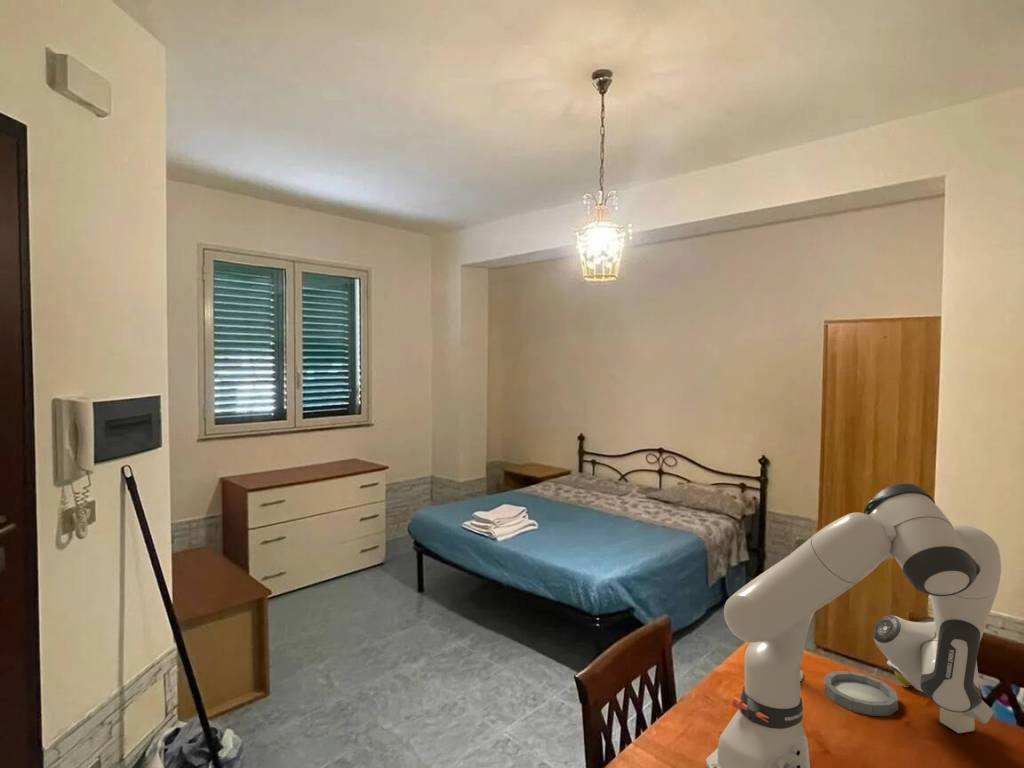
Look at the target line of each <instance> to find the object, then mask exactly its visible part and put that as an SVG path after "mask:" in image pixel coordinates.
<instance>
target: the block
mask: <svg viewBox="0 0 1024 768" xmlns="http://www.w3.org/2000/svg"><path fill="white" fill-rule="evenodd" d="M975 720H976V719H974V718H973V719H972V718H970V717H968V716H967V715H965V714H964V713H963V712H952V711H948V710H945V709H943V708H941V707H939V722H940V723H941V724H943V725H944V726H946V727H948V728H949V729H951V730H952V731H953V732H956V733H957V734H963V733H969V732H974V731H975V722H976V721H975Z"/></svg>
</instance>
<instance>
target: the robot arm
mask: <svg viewBox="0 0 1024 768" xmlns="http://www.w3.org/2000/svg"><path fill="white" fill-rule="evenodd" d="M889 559H895V561H896V562H897V563H898V565H899V567H900V568H901V569H902V573H903V575H904V577H905V578H906V579H907V580H908V582H909V583H910V584H911V585H912V586H913V588H915V589H916V590H917V591H919V592H920V593H922V594H926V595H928V596H929V599H930V600H929V601H930V605H931V609H932V610H931V611H932V615H933V618H928V619H924V620H921V621H911V620H907V619H904V618H901V617H900V616H896V615H885V616H883V617H881V618H880V619H879V620H878V621H877V622H876V623H875V625H874V627H873V630H872V631H873V632H872V635H873V640H874V642H875V645H876V647H877V648H878V649H879V651H880V652H881V653H882V655H884V656H885V658H886V659H887V662H886V665H887V666H888V667H889V668H890V669H891V670H893V672H894V671H896V672H897V673H899V674H900V675H902V676H903V677H904V678H905V679H906V680H907V681H908V682H910V683H911V684H912V685H911V686H912V687H914V689H916V690H917V691H919V692H922V693H924V695H925V696H927V698H928V699H929V700H930V701H931V702H933V703H934V704H935V705H937V706H938V707H939V708H940V707H941V708H943V709H945V710H948V711H952V712H963V713H964V714H965V715H967V716H968V717H970V718H972V719H973V718H974V719H975V720H976V721H978V723H979V722H980V723H981V724H988V722H989V721H990V720H991V718H992V716H993V714H994V711H993V709H992V708H991V707H990V706H989V705H988V704H987V702H985V701H984V700H983V699H982V694H981V689H980V683H979V672H978V660H977V659H978V653H979V648H980V644H981V640H982V637H983V634H984V631H985V628H986V625H987V622H988V620H989V616H990V613H991V610H992V609H993V605H994V602H995V599H996V596H997V593H998V590H999V585H1000V580H1001V572H1002V562H1001V554H1000V549H999V546H998V544H997V543H996V541H995V540H994V538H993V537H992V536H990V535H989V534H988V533H986V532H985V531H983V530H981V529H979V528H976V527H974V526H970V525H969V526H968V525H955V526H953V525H952V523H951V521H950V520H949V518H948V517H947V516H946V515H945V513H944V512H943V511H942V510H941V509H940V507H939V506H938V505H937V504H936V501H935V500H934V497H932V496H931V495H930V494H929V493H928V492H927V491H925V490H924V489H923V488H922V487H920V486H919V485H917V484H914V483H896V484H895V483H894V484H892V485H888V486H886V487H885V488H883V489H881V490H880V491H879V492H877V493H876V494H874V496H873V497H872V498H871V500H869V501H868V502H867V503H866V505H865V507H864V510H863V512H857V511H855V512H854V511H853V512H851V513H848V514H845V515H843V516H841V517H839V518H838V519H836V520H834V521H832V522H831V523H828V524H827V525H825V526H823V528H821V529H820V530H819V531H817V532H816V533H814V534H813V535H812V536H811V537H809V538H808V539H807V540H806V541H804V542H803V543H802V544H801V545H799V546H798V547H796V549H795V550H793V551H792V552H791V553H790V554H789V555H787V556H786V557H784V558H782V559H781V560H779V561H778V562H776V563H775V564H773V565H772V566H771V567H769V568H768V569H766V570H765V571H763V572H762V573H760V574H758V576H756V577H755V578H753V579H752V580H750V581H749V582H748V583H746V584H745V585H744V586H742V587H740V588H739V589H738V590H736V592H734V593H733V594H732V595H730V596H729V598H728V599H727V600H726V602H725V604H724V607H723V616H724V617H723V618H724V621H725V623H726V625H727V627H728V629H729V630H730V631H731V632H732V634H733V635H734V636H735V637H737V638H738V639H739V640H741V641H743V642H745V643H749V645H748V646H747V648H746V650H745V653H744V685H743V687H742V691H741V693H740V698H738V697H737V696H734V697H733V698H732V699H731V701H730V702H731V705H732V707H734V708H737V711H736V712H735V713H734V715H733V717H732V718H731V719H730V721H729V723H727V726H726V727H725V729H724V730H723V731H722V732H721V734H720V736H719V739H718V743H717V744H718V745H717V748H716V749H715V750H714V751H713V752H712V753H710V755H708V757H706V759H705V765H706V767H707V768H811V765H810V753H809V752H810V751H809V742H808V737H807V734H806V733H805V730H804V727H803V723H802V721H803V719H804V718H803V713H804V706H803V700H802V697H801V682H800V671H801V670H802V669H801V667H802V660H803V654H804V651H805V645H806V641H807V637H808V633H809V628H810V625H811V622H812V618H813V617H814V615H815V612H816V611H818V610H820V609H821V608H823V607H825V606H826V605H828V604H829V603H831V602H833V601H834V600H836V598H838V597H840V596H841V595H842V594H844V593H845V592H847V591H848V590H850V589H851V588H852V587H853V586H855V585H856V584H858V583H859V582H861V581H862V580H863V579H864V578H866V577H867V576H869V575H870V574H871V573H872V572H873V571H874V570H875V569H876V568H877V567H878V566H879V565H880V564H881V563H882V562H883V561H884V562H885V561H887V560H889Z"/></svg>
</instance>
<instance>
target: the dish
mask: <svg viewBox="0 0 1024 768" xmlns="http://www.w3.org/2000/svg"><path fill="white" fill-rule="evenodd" d="M823 680H824V686H825V687H824V694H825V695H826V696H827V695H828V696H827V697H828V698H829V699H830V700H831V699H832V700H831V701H832V702H833V701H834V702H833V703H834V704H836V703H837V704H836V705H838V704H839V706H841V707H843V708H845V709H848V710H849V711H851V712H855V713H857V714H858V713H859V714H863V715H868V716H872V717H876V716H877V717H880V716H882V717H883V716H884V717H885V716H891V715H892V714H894V713H895V712H897V711H899V699H898V695H897V692H896V690H895V689H894V688H893V687H891V686H890V685H889V684H887V682H884V681H882V680H880V679H878V678H875V677H873V676H870V675H868V674H865V673H860V672H855V671H851V670H849V671H848V670H841V671H840V670H838V671H831V672H829V673H827V674H826V675H824V679H823Z"/></svg>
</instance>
